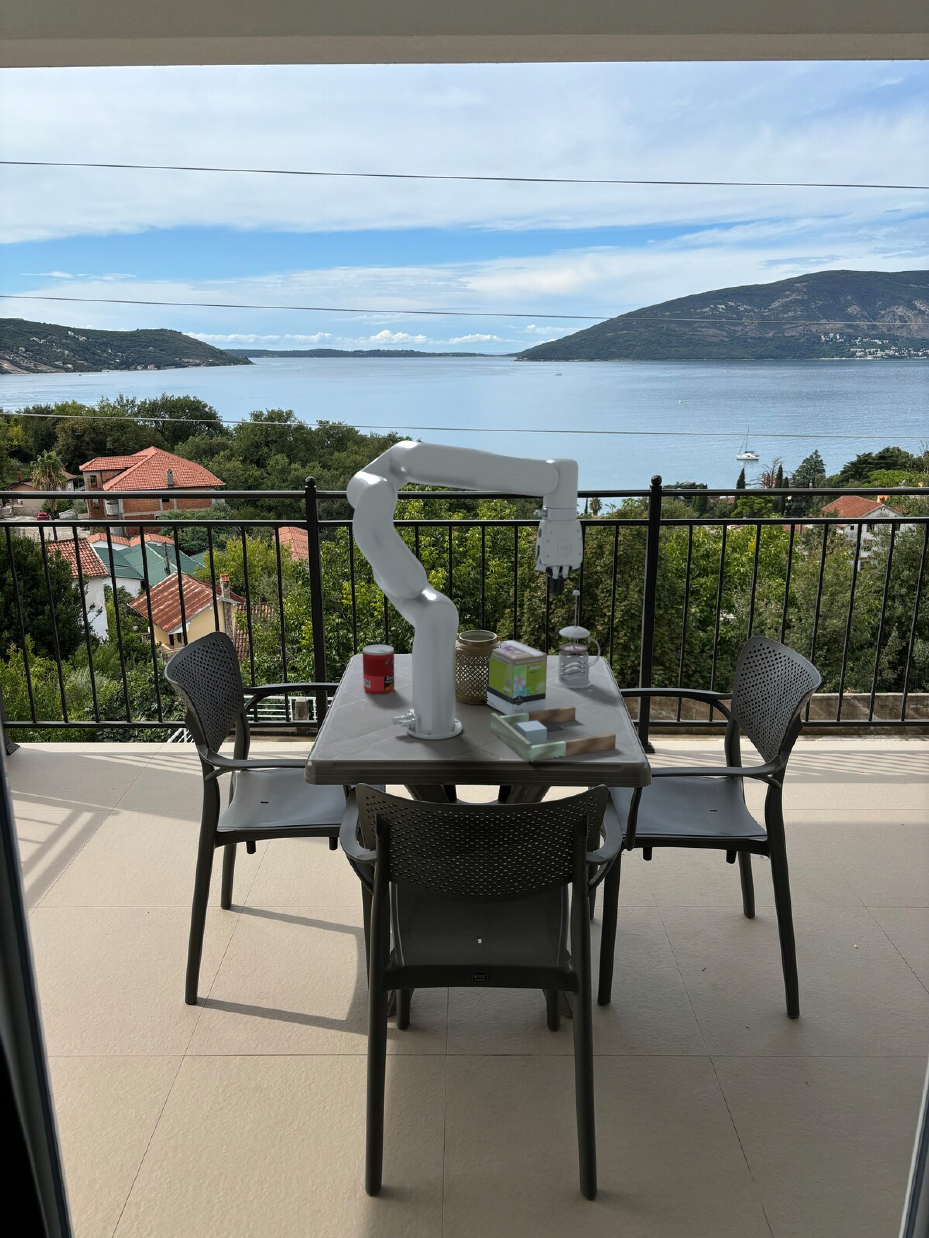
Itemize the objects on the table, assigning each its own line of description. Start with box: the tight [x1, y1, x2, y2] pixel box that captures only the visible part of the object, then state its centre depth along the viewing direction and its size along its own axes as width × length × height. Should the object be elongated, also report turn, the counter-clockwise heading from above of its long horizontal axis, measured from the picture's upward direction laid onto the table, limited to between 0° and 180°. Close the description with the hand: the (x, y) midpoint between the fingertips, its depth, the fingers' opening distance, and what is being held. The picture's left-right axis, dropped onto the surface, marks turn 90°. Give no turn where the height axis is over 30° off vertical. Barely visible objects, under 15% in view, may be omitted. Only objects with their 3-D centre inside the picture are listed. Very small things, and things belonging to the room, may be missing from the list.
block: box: [515, 721, 548, 746], centre depth 190 cm, size 5×5×4 cm
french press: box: [553, 589, 601, 689], centre depth 227 cm, size 10×12×25 cm
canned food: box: [362, 644, 395, 695], centre depth 222 cm, size 8×8×11 cm
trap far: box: [542, 722, 564, 733], centre depth 198 cm, size 6×4×1 cm
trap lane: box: [490, 705, 617, 763], centre depth 192 cm, size 21×19×4 cm
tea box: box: [486, 639, 548, 715], centre depth 210 cm, size 15×10×15 cm
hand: (557, 594), depth 200 cm, fingers closed
